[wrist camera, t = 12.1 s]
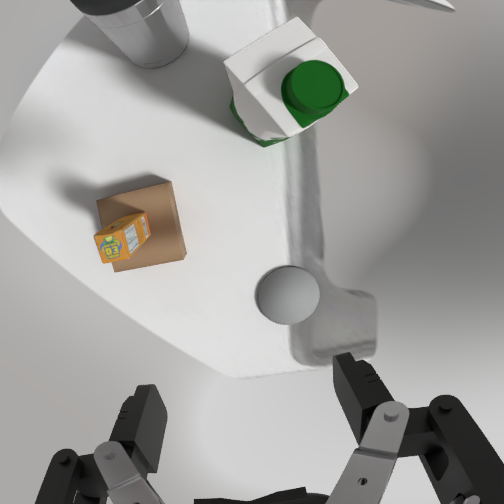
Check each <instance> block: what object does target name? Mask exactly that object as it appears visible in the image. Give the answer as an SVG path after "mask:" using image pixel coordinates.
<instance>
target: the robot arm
mask: <svg viewBox="0 0 504 504" xmlns="http://www.w3.org/2000/svg"><path fill="white" fill-rule="evenodd" d="M70 1H71V2H72V3H73V4H74V5H75V6H76V7H77V8H78V9H79V10H80V11H81V12H82V13H84V14H85V15H86V16H87V17H88V18H89V19H90V20H91V21H92V22H93V23H94V24H95V25H96V26H97V27H98V28H99V29H100V30H101V31H102V32H103V33H104V34H105V35H106V36H107V37H108V38H109V39H110V40H111V41H112V42H113V43H114V44H115V45H116V46H117V47H118V48H119V49H120V50H121V51H122V52H123V53H124V54H125V55H126V56H127V57H128V58H129V59H130V60H131V61H132V62H133V63H134V64H136V65H138V66H140V67H144V68H156V67H161V66H164V65H167V64H169V63H170V62H172V61H174V60H175V59H176V58H178V57H179V56H180V55H181V54H182V52H183V51H184V50H185V48H186V46H187V44H188V41H189V30H188V27H187V24H186V20H185V17H184V14H183V11H182V8H181V4H180V1H179V0H70ZM333 382H334V388H335V392H336V395H337V397H338V399H339V402H340V404H341V406H342V409H343V411H344V413H345V415H346V418H347V420H348V422H349V424H350V427H351V429H352V431H353V434H354V436H355V438H356V441H357V443H358V445H360V446H359V447H358V449H357V448H356V449H355V450H354V452H353V454H352V455H351V457H350V459H349V461H348V464H347V465H346V467H345V470H344V471H343V474H342V475H341V477H340V479H339V481H338V483H337V484H336V486H335V488H334V490H333V492H332V493H331V495H330V496H328V495H325V494H318V493H307V492H306V488H305V487H301V488H296V489H290V490H285V491H279V492H275V493H273V494H270V495H267V496H264V497H261V498H258V499H255V500H252V501H240V500H231V499H224V498H212V499H194V504H380V502H381V499H382V497H383V494H384V492H385V489H386V486H387V484H388V482H389V479H390V477H391V474H392V471H393V469H394V466H395V463H396V460H397V458H399V457H408V456H417V455H418V456H419V458H420V460H421V462H422V464H423V466H424V468H425V470H426V473H427V474H428V477H429V479H430V481H431V483H432V485H433V488H434V489H435V492H436V494H437V496H438V499H439V501H440V503H441V504H504V464H503V462H502V460H501V459H500V458H499V456H498V454H497V453H496V451H495V450H494V448H493V447H492V445H491V444H490V442H489V441H488V440H487V438H486V437H485V435H484V434H483V432H482V431H481V429H480V428H479V427H478V425H477V424H476V422H475V421H474V420H473V418H472V417H471V416H470V414H469V413H468V411H467V410H466V408H465V407H464V406H463V404H462V403H461V402H460V400H459V399H458V398H456V397H454V396H451V395H440V396H438V397H436V398H434V399H433V400H432V401H431V402H430V405H429V406H428V407H420V408H407V407H406V406H405V405H404V404H403V403H400V402H396V401H395V400H394V399H393V397H392V396H391V394H390V393H389V391H388V389H387V388H386V386H385V385H384V383H383V382H382V380H380V377H379V376H378V374H376V371H375V370H374V368H373V367H372V365H371V364H369V363H367V362H366V361H364V360H360V361H355V360H354V358H353V356H352V355H351V353H350V352H347V353H343V354H339V355H335V356H333ZM166 423H167V410H166V407H165V405H164V403H163V401H162V399H161V396H160V394H159V392H158V390H157V388H156V386H155V385H154V384H149V385H138V386H137V388H136V391H135V394H134V396H129V397H128V398H127V400H126V401H125V402H124V403H123V405H122V407H121V410H120V413H119V415H118V419H117V420H116V423H115V425H114V428H113V431H112V433H111V436H110V439H109V441H108V442H104V443H102V444H100V445H99V446H98V447H97V448H96V449H95V452H94V453H93V454H88V455H82V456H78V455H77V454H76V452H75V451H74V450H72V449H62V450H60V451H58V452H57V453H56V454H55V455H54V456H53V458H52V460H51V462H50V465H49V467H48V470H47V473H46V475H45V477H44V480H43V483H42V486H41V488H40V491H39V494H38V496H37V499H36V502H35V504H106V501H107V497H108V496H109V497H110V499H111V500H112V502H113V504H165V503H164V502H163V501H162V499H161V498H160V496H159V495H158V494H157V493H156V491H155V490H154V488H153V487H152V486H151V484H150V483H149V481H148V480H147V474H148V473H157V469H158V464H159V458H160V453H161V448H162V443H163V438H164V433H165V428H166ZM76 491H77V493H76ZM75 494H76V496H75ZM74 497H75V500H74ZM73 501H74V503H73Z"/></svg>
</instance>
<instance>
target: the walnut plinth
mask: <svg viewBox="0 0 504 504" xmlns="http://www.w3.org/2000/svg"><path fill="white" fill-rule="evenodd" d="M97 206H98V210H99V215H100V219H101V223H102V228H103V229H104V228H106V227H107V226H109V225H110V224H112V223H114V222H115V221H117V220H119V219H120V218H122V217H124V216H128V215H132V214H137V213H142V212H146V215H147V219H148V224H149V229H150V233H151V235H150V236H149V237H148V238H147V239H146V241H145V242H144V243H143V244H142V245H141V246H140V247H139V248H138V249H137V250H136V251H135V252H134V254H133V255H132V256H131V257H130V258H129V259H126V260H120V261H115V262H112V265H113V269H114V272H120V271H125V270H131V269H136V268H141V267H147V266H152V265H158V264H163V263H168V262H174V261H179V260H184V258H185V256H186V254H187V253H186V248H185V244H184V239H183V235H182V230H181V226H180V221H179V216H178V212H177V207H176V202H175V197H174V192H173V187H172V182H167V183H163V184H159V185H154V186H150V187H146V188H142V189H138V190H134V191H130V192H126V193H122V194H119V195H115V196H111V197H107V198H104V199H100V200H97Z"/></svg>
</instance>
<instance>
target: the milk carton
mask: <svg viewBox="0 0 504 504" xmlns="http://www.w3.org/2000/svg"><path fill="white" fill-rule="evenodd" d="M223 63H224V65H225V68H226V71H227V74H228V77H229V80H230V83H231V86H232V89H233V98H232V101H231V105H230V108H231V110H232V112H233V113H234V115H235V117H236V118H237V119H238V121H239V122H240V123H241V124H242V125H243V127H244V128H245V129H246V130H247V131H248V132H249V133H250V135H251V136H252V137H253V138H254V139H255V140H256V141H257V142H259V143H260V144H261V145H262V146H263V147H267V146H270V145H272V144H275V143H278V142H281V141H284V140H286V139H288V138H290V137H292V136H294V135H296V134H298V133H300V132H302V131H303V130H305V129H307V128H308V127H310V126H311V125H313V124H314V123H315V122H317V121H318V120H319V119H320V118H322V117H324V116H326V115H327V114H329V113H330V112H331V111H332V110H333V109H334V108H335V107H336V106H337V105H338V104H339V103H341V102H342V101H343V100H344V99H345V98H347V97H348V96H349V94H351V93H352V92H353V91H355V90H356V89H357V88H358V85H357V84H356V82H355V81H354V79H353V78H352V77H351V75H350V74H349V73H348V72H347V70H346V69H345V68H344V67H343V65H342V64H341V63H340V61H339V60H338V59H337V58H336V57H335V56H334V54H333V53H332V52H331V51H330V50H329V48H328V47H327V45H326V44H325V43H324V42H323V41H322V40H321V39H320V38H319V37H316V36H315V35H314V33H313V32H312V31H311V30H310V29H309V28H308V27H307V26H306V25H305V24H304V23H303V22H302V21H301V20H300V19H299V18H298V17H295V18H293V19H292V20H290V21H288V22H286V23H284V24H283V25H281V26H279V27H277V28H275V29H274V30H272V31H270V32H269V33H267V34H265V35H264V36H262V37H260V38H259V39H257V40H255V41H254V42H252V43H251V44H249V45H247V46H246V47H244V48H243V49H241V50H240V51H238V52H237V53H235V54H234V55H232V56H231V57H229V58H228V59H226V60H225V61H224V62H223Z"/></svg>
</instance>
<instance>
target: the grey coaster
mask: <svg viewBox="0 0 504 504" xmlns="http://www.w3.org/2000/svg"><path fill="white" fill-rule="evenodd" d="M318 301H319V287H318V284H317V282H316V280H315V279H314V277H313V276H312V275H311V274H310V273H309V272H307V271H306V270H304V269H301V268H298V267H284V268H280V269H277V270H275V271H274V272H272V273H271V274H269V275H268V276H267V277H266V278H265V279H264V281H263V282H262V284H261V286H260V289H259V292H258V302H259V306H260V309H261V311H262V313H263V314H264V315H265V316H266V317H267V318H268V319H269V320H271V321H273V322H275V323H278V324H283V325H290V324H295V323H298V322H301V321H303V320H304V319H306V318H307V317H308V316H310V315H311V313H312V312H313V311H314V310H315V308H316V306H317V304H318Z"/></svg>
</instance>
